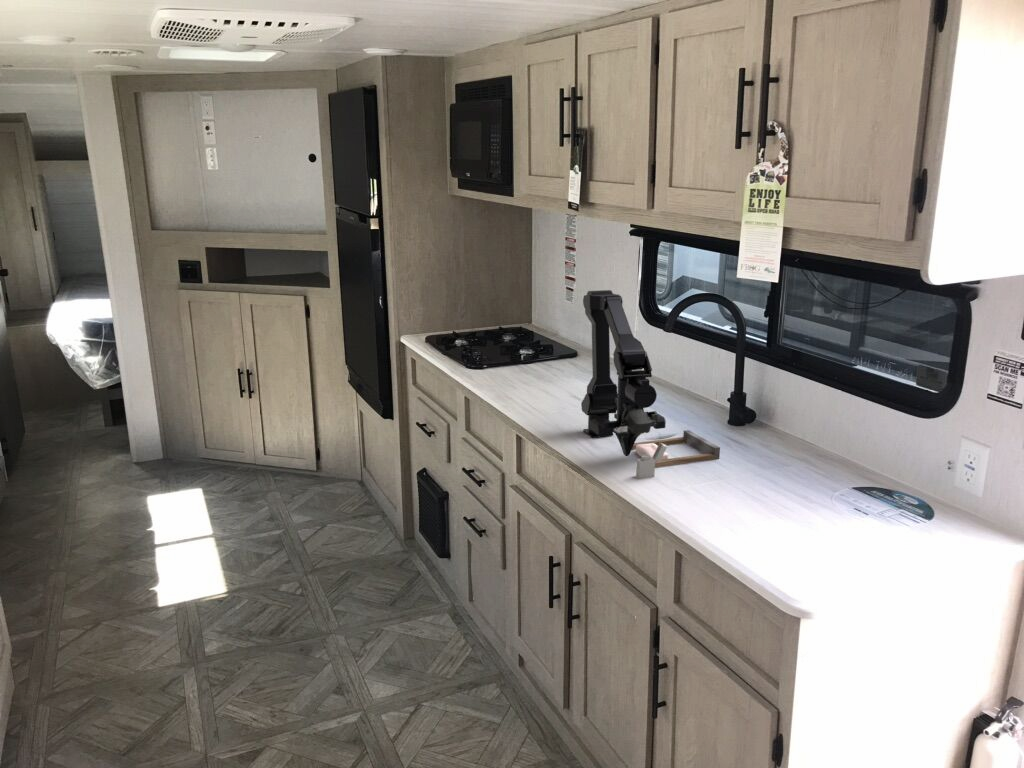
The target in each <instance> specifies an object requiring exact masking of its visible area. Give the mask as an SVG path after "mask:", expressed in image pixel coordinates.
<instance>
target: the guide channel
mask: <svg viewBox="0 0 1024 768" xmlns="http://www.w3.org/2000/svg"><path fill="white" fill-rule="evenodd" d="M650 443H654V444H656V445H657V446H658V445H659V443H662V444H665V445H666V446H671V445H672V446H673V445H680V444H687V445H689V446H690V447H692V448H694V449H695V450H697V451H699V452H701V453H702V454H694V455H687V456H680V457H673V458H668V459H663V460H660V462H659V461H657V460H656V461H655V469H656V468H662V467H667V466H668V467H670V466H675V465H685V464H690V463H697V462H699V463H700V462H705V461H711V460H712V461H713V460H719V459H720V457H721V456H720V455H721V454H720V453H721V447H720V446H719V445H716V444H714V443H713V442H711V441H710V440H708V439H706V438H704V437H702V436H700V435H698V434H697V433H694V432H693V431H692V430H689V429H686V430H683V436H680V437H671V438H665V439H658V440H657V439H656V440H648V441H641V442H635V443H634V445H633V448H632V450H631V451H633V450H635V451H636V445H639V444H650Z"/></svg>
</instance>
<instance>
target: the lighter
mask: <svg viewBox="0 0 1024 768" xmlns="http://www.w3.org/2000/svg"><path fill="white" fill-rule="evenodd" d="M667 448H668V445H665V444H662V443H659V445H658V447H657V449H656V451H655V453H654V455H653V458H651V456H650V455H643V456H642V457H641V456H640V458H637V459H636V472H635V473H636V475H635V477H636V476H637V477H636V478H637V479H639V478H640V479H648V478H649V479H650V478H655V472H656V471H655V470H656V468H655V460H657V461H659V462H660V460H661V458H662V456H663V454H664V452H666V450H667Z"/></svg>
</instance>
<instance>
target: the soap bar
mask: <svg viewBox="0 0 1024 768" xmlns="http://www.w3.org/2000/svg"><path fill="white" fill-rule="evenodd" d="M657 447H658V446H657V445H656V444H654V443H650V444H639V445H636V449H635V453H636V454H637V455H638V456H640V458H641V457H642V456H643V455H650V456H651V458H653V455H654V453H655V451H656V449H657ZM663 459H669V453H668V452H666V451H665V452H664V454H663V456H662V458H661V460H663ZM655 461H656V460H655Z"/></svg>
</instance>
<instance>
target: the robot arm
mask: <svg viewBox="0 0 1024 768" xmlns="http://www.w3.org/2000/svg"><path fill="white" fill-rule="evenodd" d="M582 302H583V303H582V304H583V307H584V312H585V313H584V314H585V316H586V318H587V319H588V320H589V322H590V323H591V356H592V357H591V358H592V359H591V360H592V362H591V364H592V366H591V367H592V378H591V379H590V380H589V383H588V384H587V386H586V393H585V395H584V397H583V399H582V402H581V411H582V412H583V413H584V414H585V415H586V416H587V417H588V418H587V419H588V420H587V428H584V429H583V430H582V432H584V433H585V434H586V435H588V436H589V437H590V438H593V439H594V438H603V437H610V436H614V434H615V436H616V437H617V439H618V442H619V445H620V448H621V449H622V450H621V451H622V452H623V455H624V456H625V457H629V456H630V454H631V452H632V451H633V450H632V448H633V445H634V443H636V441H637V440H638V439H637V438H638V437H640V435H642V434H648V433H650V432H651V428H653V429H655V430H661V429H665V428H666V422H667V421H666V417H664V416H663V415H661V414H660V413H658V412H657V411H656V410H655V411H654V410H653V411H645V409H647V408H649V407H651V406H653V405H654V404H655V402H656V400H657V394H658V393H657V391H656V389H655V387H654V386H652V384H650V379H648V378H652V376H653V375H652V371H653V369H652V366H651V362H650V358H649V356H648V353H647V351H646V350H645V348H644V346H643V343H642V342H641V341H640V340H639V339H637V338H636V337H635V336H634V334H633V332H632V329H631V326H630V323H629V321H628V318H627V315H626V313H625V308H624V307H623V297H622V296H621V295H620V294H617V293H613V290H611V289H608V290H607V289H605V290H604V289H603V290H588V291H587V293H586V295H585V294H584V296H583V298H582ZM610 333H611V335H612V339H613V342H614V344H615V349H614V351H613V354H612V355H613V364H614V367H615V370H616V375H617V376H618V377H617V384H616V383H614V381H613V380H612V378H611V357H610V356H611V352H610V351H611V350H610V347H611V346H610ZM610 414H614V417H613V418H614V419H616V420H610Z"/></svg>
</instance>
